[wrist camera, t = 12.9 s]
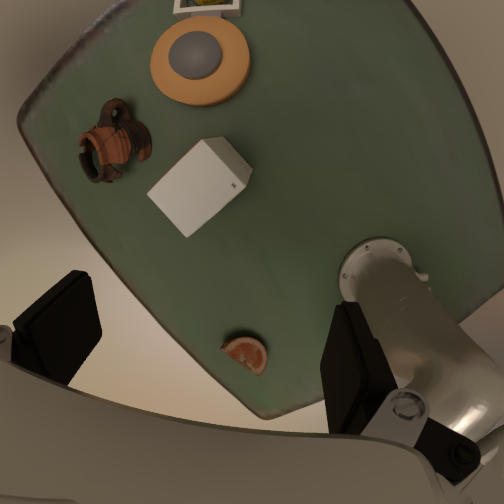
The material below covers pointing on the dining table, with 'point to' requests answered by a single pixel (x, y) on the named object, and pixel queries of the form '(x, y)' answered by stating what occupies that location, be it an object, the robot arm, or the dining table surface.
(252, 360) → the fruit slice
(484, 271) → the dining table surface
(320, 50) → the dining table surface
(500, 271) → the dining table surface
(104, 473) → the robot arm
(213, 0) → the supplement bottle
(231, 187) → the small box
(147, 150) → the brown curved piece
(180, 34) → the disc and frame
